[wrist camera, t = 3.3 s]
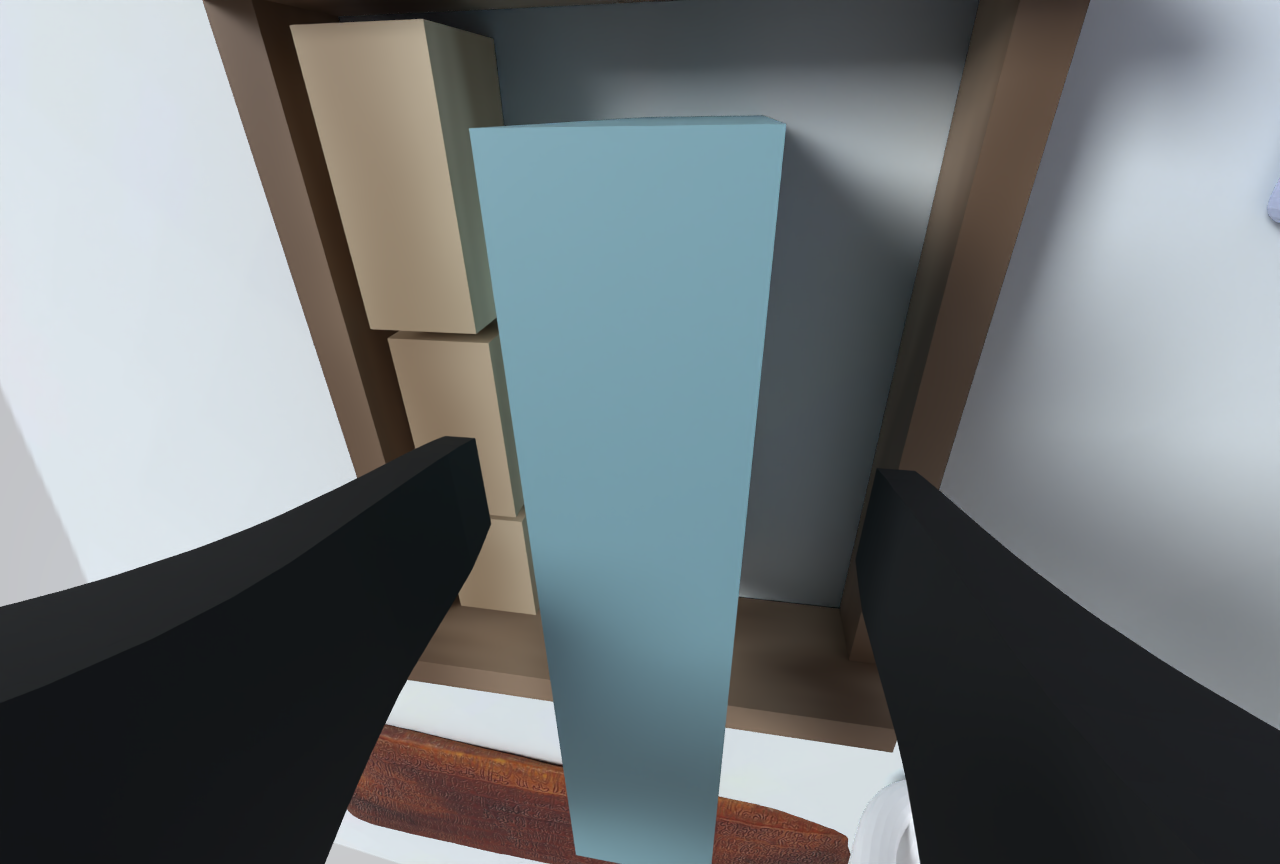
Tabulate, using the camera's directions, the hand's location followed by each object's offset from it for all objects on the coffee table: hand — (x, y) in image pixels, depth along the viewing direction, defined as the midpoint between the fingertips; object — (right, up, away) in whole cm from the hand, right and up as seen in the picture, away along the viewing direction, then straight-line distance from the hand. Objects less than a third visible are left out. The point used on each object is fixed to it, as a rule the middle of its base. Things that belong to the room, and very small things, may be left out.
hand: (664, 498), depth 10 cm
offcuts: (-5, +3, +6) cm, 8 cm away
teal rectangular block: (+1, +3, +5) cm, 6 cm away
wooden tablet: (-3, -18, +19) cm, 26 cm away
